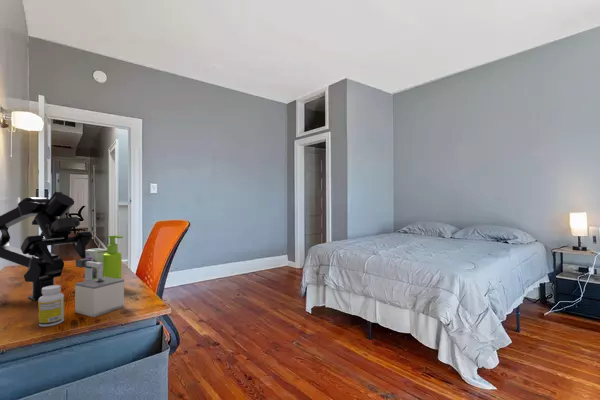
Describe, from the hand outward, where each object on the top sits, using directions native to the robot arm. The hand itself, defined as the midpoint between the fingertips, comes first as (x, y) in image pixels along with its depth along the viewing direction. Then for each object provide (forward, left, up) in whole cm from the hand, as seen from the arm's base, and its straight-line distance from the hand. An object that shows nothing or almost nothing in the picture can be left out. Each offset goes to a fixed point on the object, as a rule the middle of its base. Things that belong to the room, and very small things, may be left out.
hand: (69, 260), depth 99 cm
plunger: (+11, +1, -7) cm, 13 cm away
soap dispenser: (-5, +16, -14) cm, 22 cm away
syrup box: (-13, +14, -14) cm, 23 cm away
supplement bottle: (+15, -11, -14) cm, 23 cm away
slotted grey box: (+16, +1, -14) cm, 21 cm away
